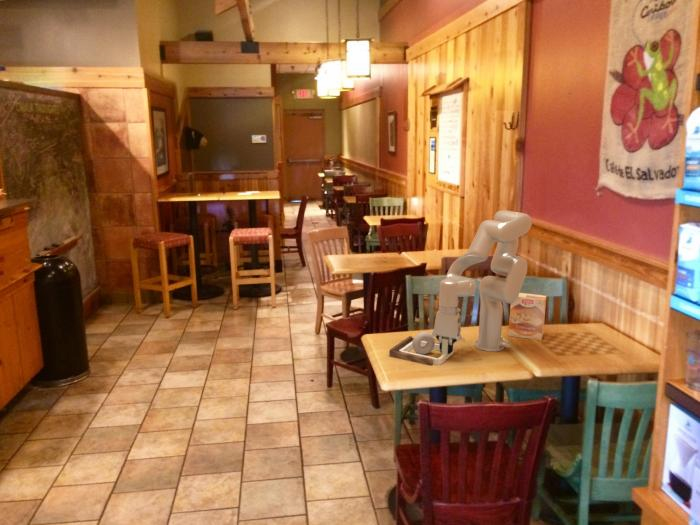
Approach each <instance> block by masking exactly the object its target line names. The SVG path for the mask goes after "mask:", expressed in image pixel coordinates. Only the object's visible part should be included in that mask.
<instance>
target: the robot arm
mask: <svg viewBox="0 0 700 525" xmlns="http://www.w3.org/2000/svg"><path fill="white" fill-rule="evenodd" d="M494 214H495V215H494V217H493V220H492V219H487V220H484V221H482V222H481V223H480V224H479V227H478V229H477V231H476V234H475V235H474V237H473V240H472V241H471V244H470V246H469V248H468V250H467V251H465V252H464V253H462V254H461V255H460V256H459V257H458V258H456V260H454V261H453V262H452V264H451V265H450V267H449V268H448V271H447V273H446V275H445V278H444V279H442V280H440V282H439V296H438V311H437V312H436V316H435V319H434V320H435V321H434V325H433V326H434V327H433V328H434V330H433V331H432V332H431V335H432V336H433V337H434V338H436V340H438V343H440V351H439V353H441V354H442V339H443V338H444V337H449V345H448V354H450V353H451V352H452V351H453V348H454V344H455V343H456V342H457V343H458V342H459V341H460V342H461V341H462V340H463V337H462V334H461V332H462V327H461V316H460V313H461V311H462V309H461V308H459V304H458V303H459V298H460V297H463V298H466V297H467V298H468V297H471V296H473V295H474V294H476V292H477V290H478V289H479V290H478V291H479V292H478V293H479V296H480V297H479V298H480V311H479V322H478V323H479V325H478V338H477V339H478V340H476V341H475V342H474V348H477V350H480V351H485V352H490V353H491V352H500V351H502V350H504V348H511V343H510V341H508V340H504V337H503V336H502V330H503V328H502V327H503V317H504V316H503V314H504V308H503V307H504V306H503V304H511V303H513V302H514V301H515V300H516V299H517V298H518V296H519V293H521V290H522V287H523V284H524V282H525V278H526V275H527V273H528V263H527V259H525V258H524V257H523V256H520V255H517V251H518V248H519V237H522V236H523V235H526V234H527V233H528V232H529V231H530V229H531V228H532V226H533V220H532V217H531V216H530V215H529V214H527V213H525V212H520V211H519V212H517V211H512V210H506V209H505V210H498V211H497V212H495V213H494ZM495 243H497V244H496V247H495V251H494V254H493V256H492V258H491V262H490V270H491V271H492V272H493V273H495V274H496V275H497V274H498V275H500V276H505V277H506V279H505V278H503V277H498V276H494V275H487V276H486V275H485V276H483V278H482V279H481V280H480V281H479V285H478V284H477V282H476V281H475V280H474V279H472V278H469V277H466V276H464V275H462V274H463V272H464V271H465V270H466V269H467V268H469V267H470V266H472V265H473V266H474V265H475V264H479V263H482V262H485V261H487V260H488V258H489V256H490V254H491V252H492V249H493V247H494V245H495Z"/></svg>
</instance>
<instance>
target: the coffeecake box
mask: <svg viewBox="0 0 700 525" xmlns="http://www.w3.org/2000/svg"><path fill="white" fill-rule="evenodd" d="M546 304H547V295H542V294H533V293H524V292H520V293H519V296H518V298H517V299H516V300H515V301H514V302H513V303H510V308H509V321H508V322H509V324H508V334H507V336H508V337H516V338H522V339H528V340H529V339H530V340H537V341H542V339H543V337H544V327H545V316H546V306H547V305H546Z"/></svg>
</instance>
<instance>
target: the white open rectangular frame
mask: <svg viewBox="0 0 700 525" xmlns="http://www.w3.org/2000/svg"><path fill="white" fill-rule="evenodd" d="M426 344H427V342H425V341H421V342H420V346H422V347H423V346H425V345H426ZM448 345H449V337H444V338H443V339H442V353H441V355H440V356H438V357H434V356H428V355H426V354H424V355H423V354H418V353H416V352H410V351H411V350H413V347H412V342H410V343H409V344H408V345H406V346H405V347H403V348H402V349H400V350H399V352H402V353H407V354H411V355H416V356H420V357H425V358H429V359H433V365H435V366H437V365H438V366H441V365H442V364H443V363H444V362H446V361H447V360H448V359H449V358H450V357H451V356H452V355H454V353H455V347H453V351H452V352H451V353H450V354H448ZM432 350H435V351H439V352H440V344H435V345H434V348H433V349H432ZM446 359H447V360H446Z"/></svg>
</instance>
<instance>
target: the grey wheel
mask: <svg viewBox="0 0 700 525" xmlns="http://www.w3.org/2000/svg"><path fill="white" fill-rule="evenodd" d="M413 338H414V339H413V341H412V347H413V348H412V350H413V351H414V353H415V354H420V355H427V354H430V353H431V351H432V350H433V348H434V345H435V342H436V340H435V337H434V336H433V335H432V333H430V332H428V331H422V332H419V333H417V334H416V335H415V336H414V337H413ZM422 340H426V341H427V344H426V345H425V346H423V347H422V346H420V342H421V341H422Z"/></svg>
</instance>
